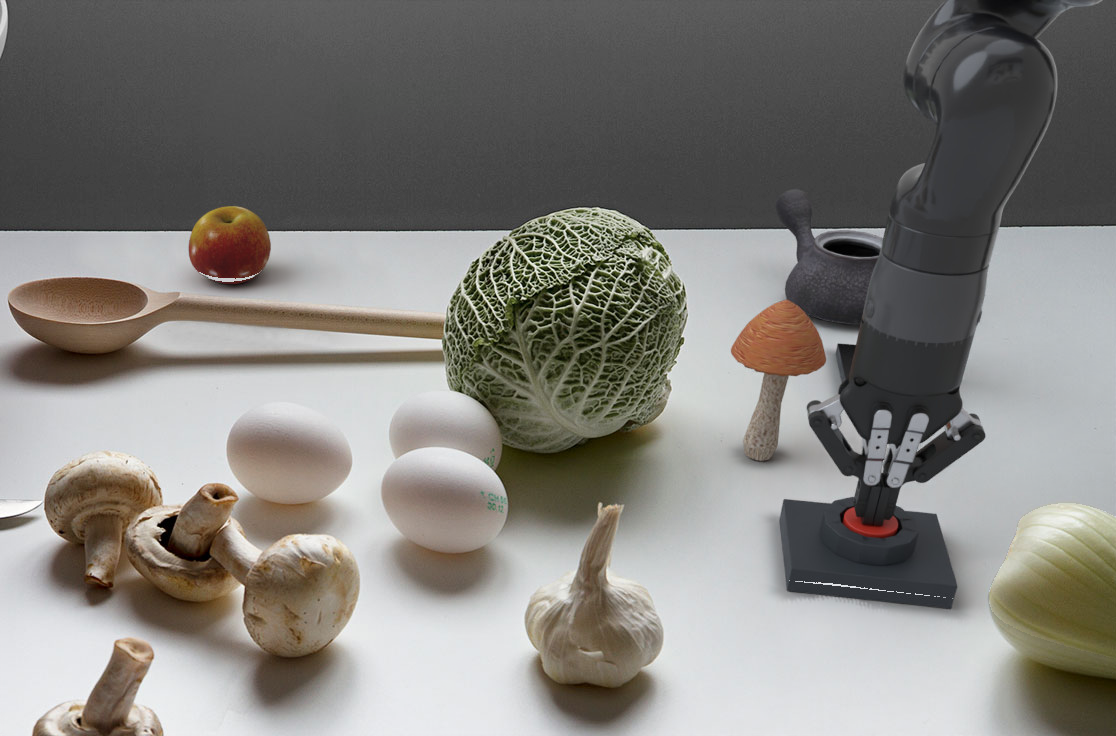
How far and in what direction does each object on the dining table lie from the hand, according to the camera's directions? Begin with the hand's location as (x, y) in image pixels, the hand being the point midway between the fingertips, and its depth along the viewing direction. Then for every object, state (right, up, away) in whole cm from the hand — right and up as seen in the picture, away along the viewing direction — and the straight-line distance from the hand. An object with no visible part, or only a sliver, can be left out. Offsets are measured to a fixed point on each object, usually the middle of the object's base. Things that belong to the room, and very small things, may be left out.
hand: (869, 519), depth 101 cm
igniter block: (0, -3, +2) cm, 4 cm away
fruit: (-55, +28, +52) cm, 81 cm away
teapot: (+13, +25, +45) cm, 53 cm away
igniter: (0, -1, +1) cm, 2 cm away
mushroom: (-3, +6, +17) cm, 18 cm away
